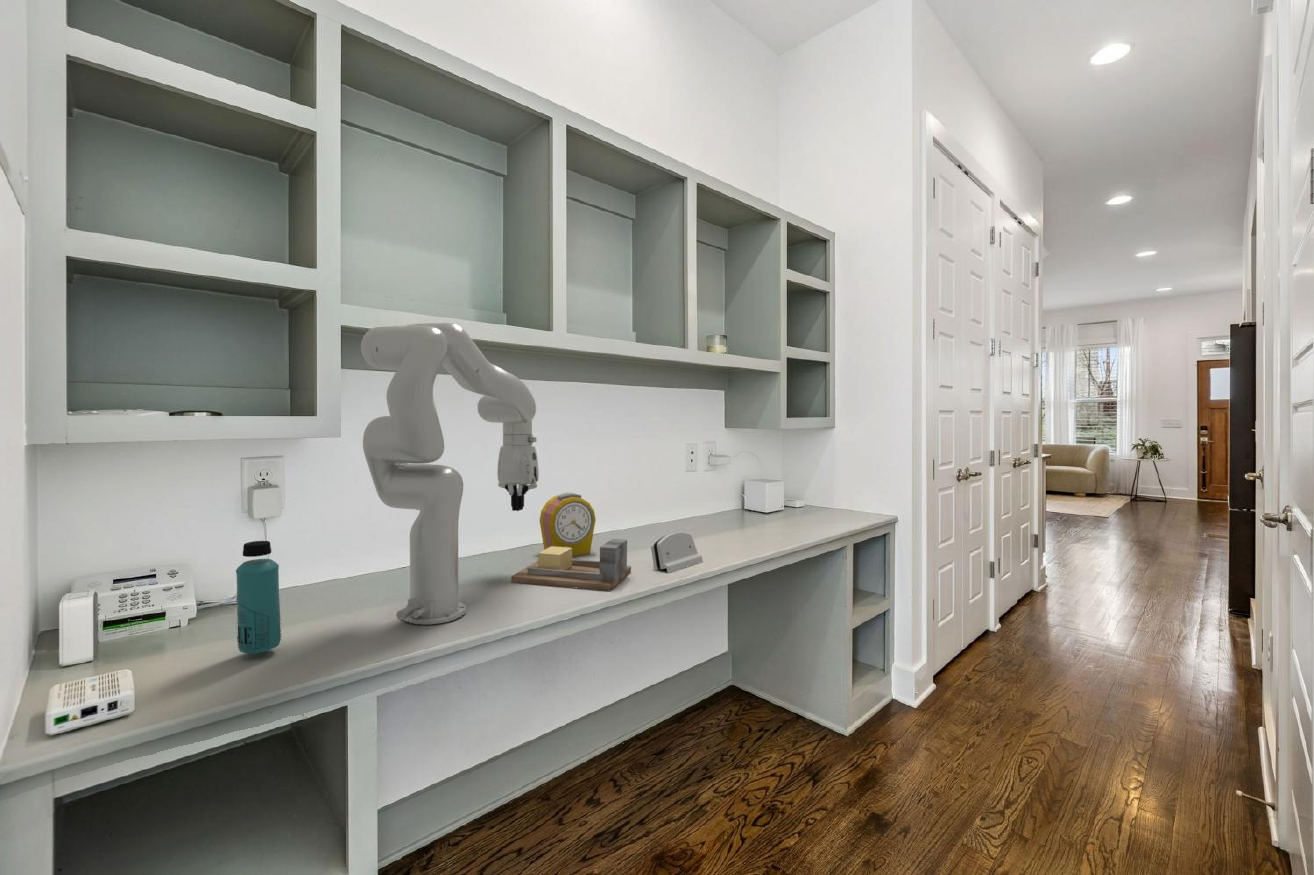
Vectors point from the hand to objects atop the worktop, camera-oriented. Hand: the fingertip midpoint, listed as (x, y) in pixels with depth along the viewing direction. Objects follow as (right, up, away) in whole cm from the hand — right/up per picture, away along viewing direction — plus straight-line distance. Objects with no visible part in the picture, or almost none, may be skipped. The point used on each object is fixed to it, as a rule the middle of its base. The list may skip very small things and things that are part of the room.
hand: (517, 509), depth 159 cm
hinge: (+42, -17, +10) cm, 47 cm away
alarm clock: (+10, -16, +22) cm, 29 cm away
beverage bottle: (-32, -19, -54) cm, 66 cm away
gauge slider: (+11, -15, 0) cm, 19 cm away
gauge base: (+15, -17, -3) cm, 23 cm away
